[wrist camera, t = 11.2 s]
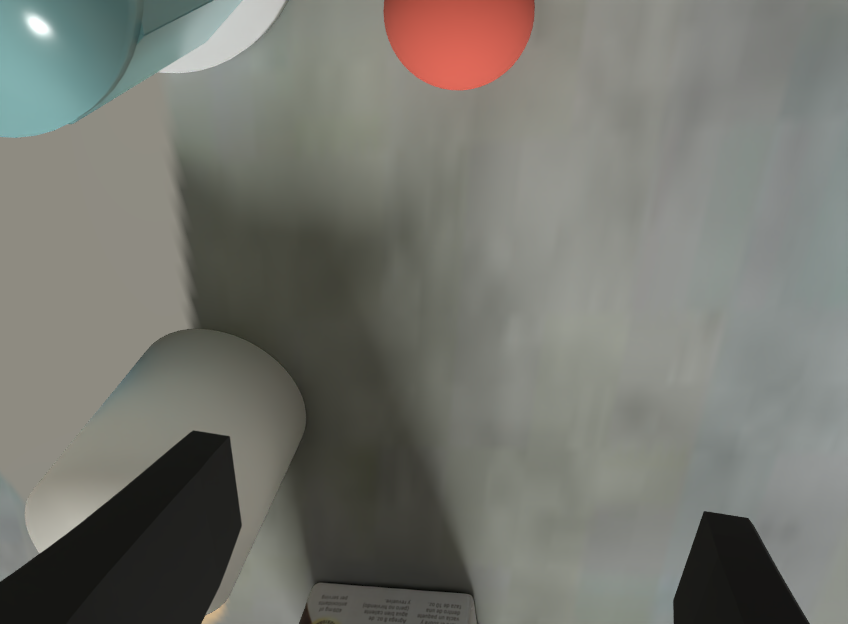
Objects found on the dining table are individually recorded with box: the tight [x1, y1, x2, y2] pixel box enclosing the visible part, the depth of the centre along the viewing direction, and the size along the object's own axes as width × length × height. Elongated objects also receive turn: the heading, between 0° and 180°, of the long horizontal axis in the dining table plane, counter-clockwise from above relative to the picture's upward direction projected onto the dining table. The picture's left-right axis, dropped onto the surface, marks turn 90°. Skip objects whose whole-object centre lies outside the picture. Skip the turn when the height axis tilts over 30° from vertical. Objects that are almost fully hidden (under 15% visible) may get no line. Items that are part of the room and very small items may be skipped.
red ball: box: [384, 0, 535, 90], centre depth 15 cm, size 3×3×3 cm
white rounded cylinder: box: [25, 329, 306, 615], centre depth 22 cm, size 6×6×6 cm
